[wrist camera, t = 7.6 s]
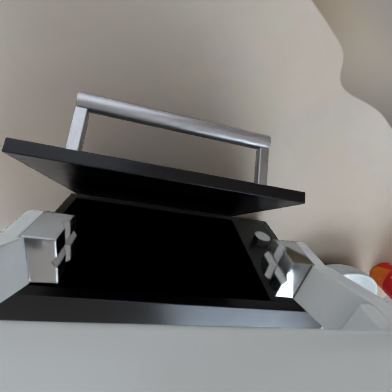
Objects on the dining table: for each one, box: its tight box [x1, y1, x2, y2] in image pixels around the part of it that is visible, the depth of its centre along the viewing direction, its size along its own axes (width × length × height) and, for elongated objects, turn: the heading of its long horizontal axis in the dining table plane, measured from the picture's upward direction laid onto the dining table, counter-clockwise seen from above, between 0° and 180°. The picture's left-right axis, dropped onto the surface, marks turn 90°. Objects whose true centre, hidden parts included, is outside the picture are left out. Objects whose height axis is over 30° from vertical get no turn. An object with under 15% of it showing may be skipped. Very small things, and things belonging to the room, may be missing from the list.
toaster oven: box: [0, 193, 322, 329], centre depth 37 cm, size 29×36×22 cm
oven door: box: [2, 92, 305, 216], centre depth 30 cm, size 7×27×20 cm
